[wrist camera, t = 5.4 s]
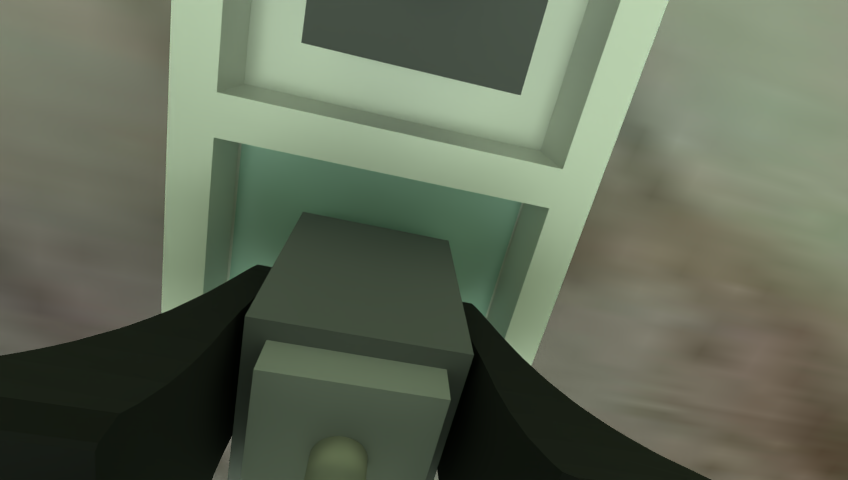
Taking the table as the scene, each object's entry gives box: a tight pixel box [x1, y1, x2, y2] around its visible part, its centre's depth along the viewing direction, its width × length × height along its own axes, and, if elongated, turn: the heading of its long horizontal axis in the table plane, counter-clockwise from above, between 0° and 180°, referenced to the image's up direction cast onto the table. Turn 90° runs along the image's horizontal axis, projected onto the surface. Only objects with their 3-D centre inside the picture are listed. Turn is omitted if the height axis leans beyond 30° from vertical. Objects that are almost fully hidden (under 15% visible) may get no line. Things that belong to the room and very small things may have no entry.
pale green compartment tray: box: [161, 0, 669, 365], centre depth 13 cm, size 17×11×3 cm, turn 167°
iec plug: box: [228, 212, 474, 480], centre depth 11 cm, size 4×4×7 cm
